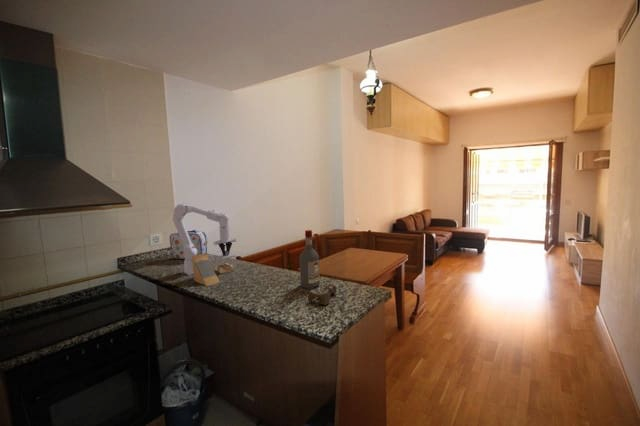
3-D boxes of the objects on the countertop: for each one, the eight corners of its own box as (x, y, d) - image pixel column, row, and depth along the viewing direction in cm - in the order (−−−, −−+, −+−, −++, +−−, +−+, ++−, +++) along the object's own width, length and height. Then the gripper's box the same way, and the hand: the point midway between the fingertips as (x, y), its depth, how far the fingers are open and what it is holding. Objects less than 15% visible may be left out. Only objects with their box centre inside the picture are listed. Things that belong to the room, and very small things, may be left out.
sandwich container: (206, 286, 170) (204, 260, 169) (193, 280, 181) (191, 255, 179) (220, 282, 177) (218, 256, 175) (207, 277, 187) (205, 252, 185)
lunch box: (211, 257, 234) (209, 228, 232) (203, 260, 224) (201, 230, 222) (178, 256, 239) (175, 228, 236) (169, 260, 229) (167, 230, 226)
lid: (216, 256, 199) (216, 251, 199) (228, 254, 205) (228, 249, 204) (223, 259, 192) (223, 254, 192) (235, 256, 197) (235, 251, 197)
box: (215, 270, 199) (215, 265, 199) (227, 267, 204) (226, 263, 204) (222, 273, 192) (221, 268, 191) (234, 271, 197) (233, 266, 197)
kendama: (341, 295, 153) (321, 310, 136) (324, 293, 158) (302, 306, 141) (340, 283, 153) (320, 296, 136) (324, 281, 158) (302, 293, 141)
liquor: (298, 286, 167) (296, 231, 163) (308, 281, 174) (307, 228, 170) (311, 289, 161) (309, 232, 158) (321, 284, 168) (320, 230, 165)
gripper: (216, 235, 189) (217, 257, 190) (237, 232, 198) (239, 253, 200) (211, 234, 194) (212, 255, 196) (232, 231, 204) (234, 251, 205)
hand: (225, 254), depth 198 cm, fingers closed on lid, 2 cm apart
